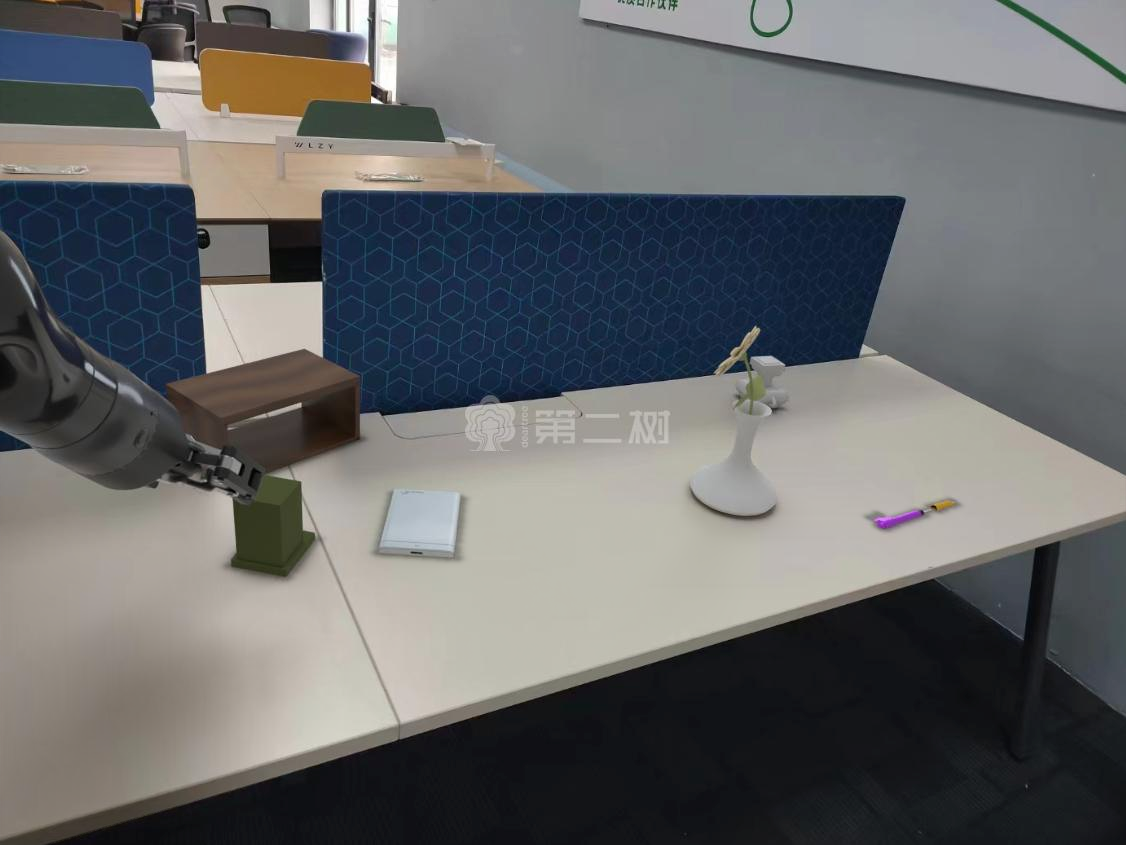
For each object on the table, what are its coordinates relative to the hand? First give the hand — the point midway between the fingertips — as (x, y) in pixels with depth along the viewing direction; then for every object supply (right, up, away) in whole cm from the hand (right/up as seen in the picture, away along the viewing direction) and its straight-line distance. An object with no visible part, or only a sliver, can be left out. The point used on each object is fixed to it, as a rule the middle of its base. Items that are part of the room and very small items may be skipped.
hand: (203, 485), depth 72 cm
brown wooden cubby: (-8, +2, +38) cm, 39 cm away
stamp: (+64, +8, +70) cm, 95 cm away
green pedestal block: (0, -9, +17) cm, 20 cm away
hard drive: (+15, -7, +26) cm, 30 cm away
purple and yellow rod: (+78, -7, +42) cm, 89 cm away
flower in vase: (+53, -5, +39) cm, 66 cm away
